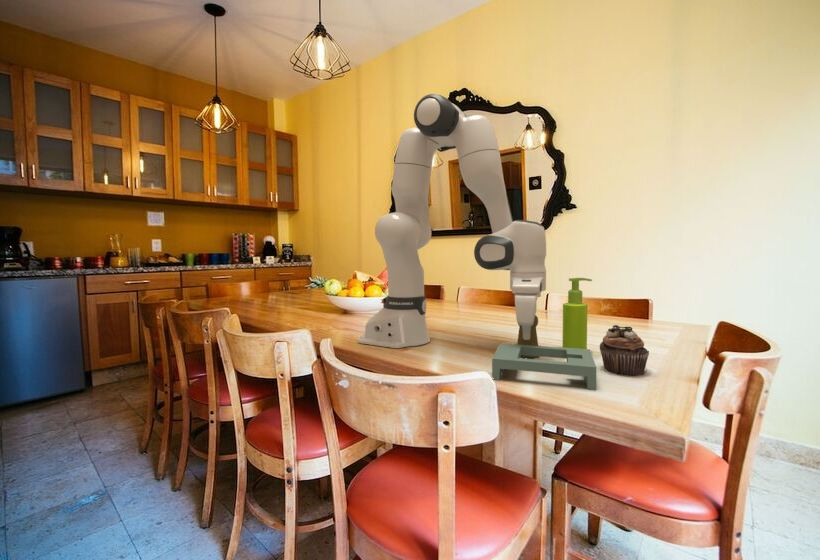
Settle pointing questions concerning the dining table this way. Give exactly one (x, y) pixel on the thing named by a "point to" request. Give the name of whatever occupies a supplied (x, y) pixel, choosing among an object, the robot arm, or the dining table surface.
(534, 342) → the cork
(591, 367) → the grey-green slotted stand
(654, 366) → the dining table surface
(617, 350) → the cupcake
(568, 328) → the soap dispenser
